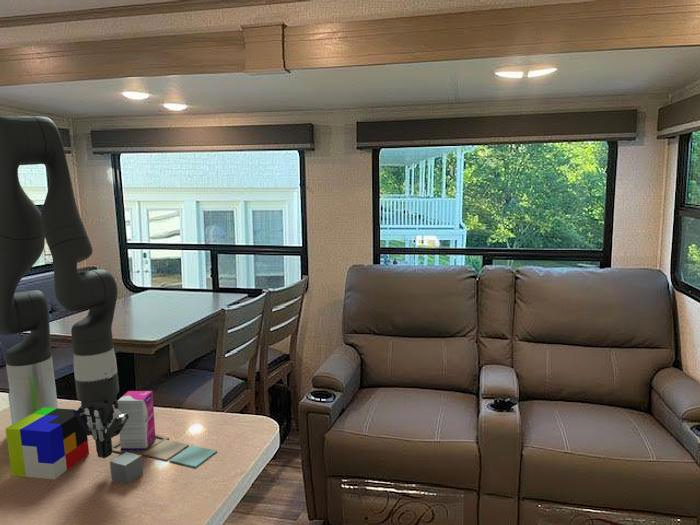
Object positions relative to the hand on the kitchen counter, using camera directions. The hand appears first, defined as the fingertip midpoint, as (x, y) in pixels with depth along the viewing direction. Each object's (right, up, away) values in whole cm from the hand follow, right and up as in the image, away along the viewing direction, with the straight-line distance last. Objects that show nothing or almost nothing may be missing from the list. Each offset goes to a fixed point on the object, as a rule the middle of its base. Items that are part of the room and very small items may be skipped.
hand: (105, 455), depth 106 cm
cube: (+5, -4, -1) cm, 6 cm away
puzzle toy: (-13, -4, +4) cm, 14 cm away
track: (+9, -2, +9) cm, 13 cm away
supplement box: (+2, -2, +12) cm, 12 cm away
